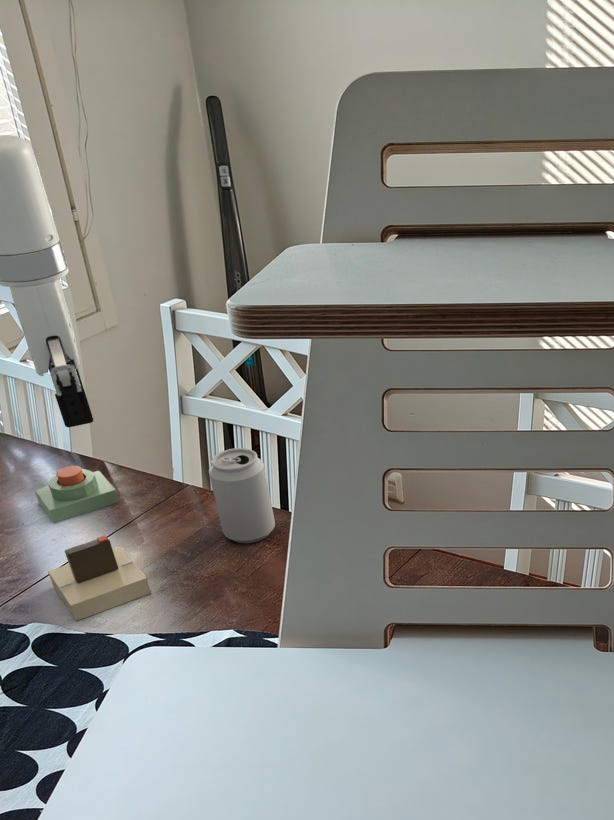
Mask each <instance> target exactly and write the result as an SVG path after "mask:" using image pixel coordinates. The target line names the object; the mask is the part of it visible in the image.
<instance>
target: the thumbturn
mask: <svg viewBox="0 0 614 820" xmlns="http://www.w3.org/2000/svg"><path fill="white" fill-rule="evenodd" d="M112 549H113V547H112V544H111V541H110V539H109V538H108V536H107V535H102V536H98V537H96V539H93V540H90V541H88V542H84V543H82V544H79V545H76V546H73V547H70V548H67V549H64V554H65V557H66V560H67V562H68V564H69V565H70V568H71V571H72V574H73V577H74V579H75V581H76V582H77V583H81V582H83V581H86V580H89V579H92V578H95V577H97V576H100V575H103V574H106V573H109V572H112V571H114V570H117V569H118V565H117V562H116V559H115V556H114V553H113V550H112Z"/></svg>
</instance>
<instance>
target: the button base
mask: <svg viewBox="0 0 614 820" xmlns="http://www.w3.org/2000/svg"><path fill="white" fill-rule="evenodd" d="M81 469H82V472H83V476H84V481H82V482H81V483H79V484H76V485H73V486H61V485H60V483H59V481H58V478H57V475H54V476H53V477H51V478H50V480H49V481H48V484H47V486H43V487H41V488H37V489H35V490H34V494H35V496H36V499H37V503H39V505H40V506H41V508H42V509H43V510H44V512H45V513H46V515H47V516H48V518H49V519H50V520H51V522H52V523H53V524H57V523H60V522H63V521H66V520H70V519H72V518H76V517H78V516H82V515H85V514H87V513H90V512H94V511H97V510H100V509H103V508H106V507H108V506H112V505H115V504H118V503H120V498H119V495H118V492H117V490H116V488H115V486H113V484H111V482H110V481H109V480H108V479H107V478H106V476H104V474H102V472H101V470H96V471H92V470H89V469H84V468H81Z"/></svg>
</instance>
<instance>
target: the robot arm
mask: <svg viewBox="0 0 614 820" xmlns="http://www.w3.org/2000/svg"><path fill="white" fill-rule="evenodd" d="M69 272H70V271H69V267H68V263H67V260H66V256H65V254H64V250H63V247H62V243H61V240H60V237H59V232H58V229H57V227H56V223H55V219H54V217H53V212H52V209H51V206H50V203H49V199H48V196H47V193H46V189H45V185H44V181H43V178H42V175H41V172H40V168H39V165H38V161H37V158H36V155H35V153H34V150H33V147H32V146H31V144H30V143H29V142H28V141H27V140H26V139H25V138H22V137H21V136H17V135H13V134H12V135H11V134H0V285H1V286H2V287H8V288H9V290H10V294H11V298H12V301H13V304H14V308H15V312H16V314H17V318H18V320H19V324H20V326H21V330H22V333H23V335H24V338H25V339H24V340H25V342H26V345H27V347H28V351H29V353H30V354H29V355H30V357H31V360H32V363H33V366H34V369H35V372H36V374H37V375H38V376H40V377H44V375H45V374H48V373H49V374H50V377H51V380H52V384H53V387H54V389H55V392H56V393H54V397H55V400H56V402H57V406H58V408H59V413H60V415H61V418H62V422H63V424H64V427H66V428H73V427H78V426H82V425H83V426H84V425H88V424H91V423H93V422H94V416H93V414H92V411H91V407H90V404H89V401H88V397H87V394H86V391H85V388H84V385H83V382H82V379H81V375H80V371H79V368H80V367H81V361H80V355H79V349H78V344H77V340H76V335H75V331H74V327H73V326H74V325H73V322H72V318H71V313H70V310H69V306H68V304H67V301H66V297H65V293H64V289H63V287H62V283H61V280H60V279H63V278H64V277H66V276H67V275H68V274H69Z"/></svg>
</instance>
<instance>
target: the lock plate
mask: <svg viewBox="0 0 614 820" xmlns="http://www.w3.org/2000/svg"><path fill="white" fill-rule="evenodd" d="M112 550H113V553H114V556H115V559H116V562H117V565H118V569H117V570H114V571H112V572H109V573H106V574H103V575H100V576H97V577H95V578H92V579H89V580H86V581H83V582H81V583H77V582H76V581H75V579H74V577H73V574H72V571H71V568H70V565H69V563H68V564H65V565H62V566H59V567H57V568H54V569H51V570H48V571H47V573H48V576H49V578H50V581H51V584H52V586H53V589H54V590H55V592H56V593H57V594H58V597H60V599H61V601H62V602H63V603H64V605H65V607H66V608H67V610H68V611H69V613H70V615H72V617H73V619H74V620H75V622H78V621H80V620H83V619H86V618H88V617H91V616H94V615H96V614H99V613H102V612H104V611H107V610H110V609H113V608H115V607H118V606H121V605H125V604H126V603H130V602H131V601H134V600H138V599H139V598H142V597H145V596H147V595H150V594H152V591H151V587H150V584H149V581H148V578H147V576H146V575H145V574H144V572H142V570H141V569H140V568H139V566H138V565H137V564H136V562H135V561H134V560H133V559H132V558H131V557H130V555H129V554H128V552H126V550H125V549H124V548H123V546H122V545H120V546H117V547H115V548H112Z"/></svg>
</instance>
